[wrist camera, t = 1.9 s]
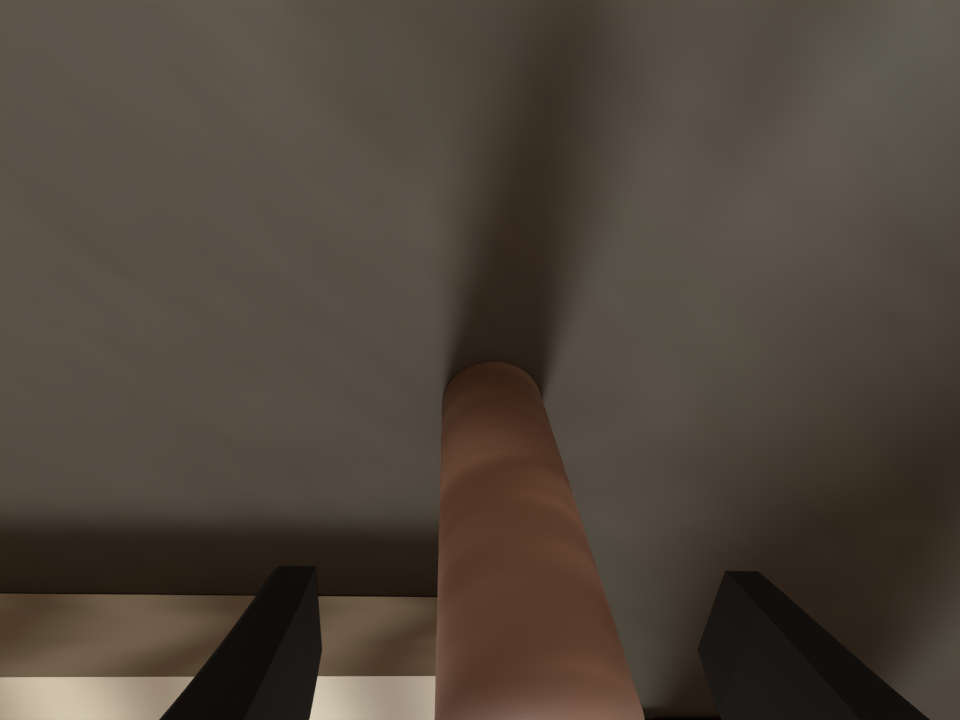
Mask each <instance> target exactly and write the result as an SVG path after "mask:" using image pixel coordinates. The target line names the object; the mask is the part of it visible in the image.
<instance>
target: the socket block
mask: <svg viewBox="0 0 960 720" xmlns="http://www.w3.org/2000/svg"><path fill="white" fill-rule="evenodd" d="M254 598H255V596H233V595H112V594H0V720H159V719H160V718H161V717H162V716H163V714H164V713H165V712H166V711H167V710H168V709H169V707H170V706H171V705H172V704H173V703H174V702H175V700H176V699H177V698H178V697H179V696H180V694H181V693H182V692H183V691H184V689H185V688H186V687H187V686H188V684H189V683H190V682H191V681H192V679H193V678H194V677H195V676H196V674H197V673H198V672H199V671H200V669H201V668H202V667H203V665H204V664H205V663H206V662H207V660H208V659H209V658H210V657H211V655H212V654H213V653H214V652H215V650H216V649H217V648H218V646H219V645H220V644H221V643H222V641H223V640H224V639H225V637H226V636H227V635H228V633H229V632H230V631H231V629H232V628H233V627H234V625H235V624H236V623H237V621H238V620H239V619H240V617H241V616H242V614H243V613H244V612H245V610H246V609H247V608H248V606H249V605H250V603H251V602H252V601H253V599H254ZM318 600H319V613H320V626H321V639H322V654H321V660H320V665H319V671H318V677H317V683H316V688H315V693H314V699H313V704H312V709H311V715H310V719H309V720H434V718H435V678H436V637H437V597H353V596H318Z"/></svg>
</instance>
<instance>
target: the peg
mask: <svg viewBox="0 0 960 720" xmlns="http://www.w3.org/2000/svg"><path fill="white" fill-rule="evenodd" d="M434 720H645V719H644V714H643V710H642V707H641V704H640V701H639V697H638V694H637V691H636V688H635V685H634V682H633V679H632V676H631V673H630V670H629V667H628V663H627V660H626V657H625V654H624V651H623V648H622V645H621V642H620V639H619V636H618V633H617V630H616V626H615V623H614V620H613V617H612V614H611V611H610V608H609V605H608V602H607V599H606V596H605V592H604V589H603V586H602V583H601V580H600V577H599V574H598V571H597V568H596V565H595V562H594V558H593V555H592V552H591V549H590V546H589V543H588V540H587V537H586V534H585V531H584V528H583V524H582V521H581V518H580V515H579V512H578V509H577V506H576V503H575V500H574V497H573V494H572V490H571V487H570V484H569V481H568V478H567V475H566V472H565V469H564V466H563V463H562V460H561V456H560V453H559V450H558V447H557V444H556V441H555V438H554V435H553V432H552V429H551V426H550V423H549V419H548V416H547V413H546V410H545V407H544V404H543V401H542V398H541V395H540V392H539V389H538V387H537V385H536V383H535V381H534V380H533V379H532V377H531V376H530V375H529V374H528V373H527V372H525V371H524V370H523V369H521V368H519V367H517V366H515V365H513V364H510V363H506V362H501V361H486V362H481V363H477V364H474V365H472V366H469V367H467V368H466V369H464V370H462V371H461V372H460V373H458V374H457V375H456V376H455V377H454V378H453V379H452V381H451V382H450V383H449V385H448V386H447V388H446V391H445V393H444V397H443V402H442V436H441V476H440V517H439V557H438V597H437V637H436V678H435V718H434Z"/></svg>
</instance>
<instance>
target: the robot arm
mask: <svg viewBox="0 0 960 720" xmlns="http://www.w3.org/2000/svg"><path fill="white" fill-rule="evenodd" d="M698 652H699V655H700V658H701V661H702V665H703V668H704V671H705V674H706V677H707V681H708V684H709V687H710V690H711V692H712V695H713V698H714V701H715V704H716V707H717V710H718V713H719V715H720V717H721V720H930V719H928V718H927V717H926V716H925V715H923V714H922V713H921V712H920V711H919V710H917V709H916V708H915V707H914V706H913V705H911V704H910V703H909V702H908V701H907V700H905V699H904V698H903V697H902V696H901V695H899V694H898V693H897V692H896V691H895V690H894V689H892V688H891V687H890V686H889V685H888V684H887V683H885V682H884V681H883V680H882V679H881V678H879V677H878V676H877V675H876V674H875V673H874V672H873V671H871V670H870V669H869V668H868V667H867V666H866V665H864V664H863V663H862V662H861V661H860V660H859V659H857V658H856V657H855V656H854V655H853V654H852V653H851V652H849V651H848V650H847V649H846V648H845V647H844V646H843V645H841V644H840V643H839V642H838V641H837V640H836V639H835V638H834V637H832V636H831V635H830V634H829V633H828V632H827V631H826V630H825V629H823V628H822V627H821V626H820V625H819V624H818V623H817V622H815V621H814V620H813V619H812V618H811V617H810V616H809V615H808V614H806V613H805V612H804V611H803V610H802V609H801V608H800V607H799V606H797V605H796V604H795V603H794V602H793V601H792V600H791V599H789V598H788V597H787V596H786V595H785V594H784V593H783V592H781V591H780V590H779V589H778V588H777V587H776V586H775V585H773V584H772V583H771V582H770V581H769V580H767V579H766V578H765V577H764V576H763V575H761V574H760V573H759V572H756V571H725V573H724V576H723V579H722V582H721V585H720V587H719V590H718V593H717V596H716V599H715V602H714V604H713V607H712V610H711V613H710V616H709V619H708V622H707V624H706V627H705V630H704V633H703V636H702V639H701V641H700V644H699V647H698ZM321 654H322V639H321V626H320V613H319V600H318V587H317V574H316V567H308V566H279V567H278V568H276V569H275V570H274V571H273V572H272V573H271V575H270V576H269V578H268V579H267V581H266V582H265V583H264V585H263V586H262V588H261V589H260V591H259V592H258V594H257V595H256V596H255V598H254V599H253V601H252V602H251V603H250V605H249V606H248V608H247V609H246V610H245V612H244V613H243V614H242V616H241V617H240V619H239V620H238V621H237V623H236V624H235V625H234V627H233V628H232V629H231V631H230V632H229V633H228V635H227V636H226V637H225V639H224V640H223V641H222V643H221V644H220V645H219V646H218V648H217V649H216V650H215V652H214V653H213V654H212V655H211V657H210V658H209V659H208V660H207V662H206V663H205V664H204V665H203V667H202V668H201V669H200V671H199V672H198V673H197V674H196V676H195V677H194V678H193V679H192V681H191V682H190V683H189V684H188V686H187V687H186V688H185V689H184V691H183V692H182V693H181V694H180V696H179V697H178V698H177V699H176V700H175V702H174V703H173V704H172V705H171V706H170V707H169V709H168V710H167V711H166V712H165V713H164V714H163V716H162V717H161V718H160V719H159V720H309V719H310V715H311V709H312V704H313V699H314V693H315V688H316V683H317V677H318V671H319V665H320V660H321Z"/></svg>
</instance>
